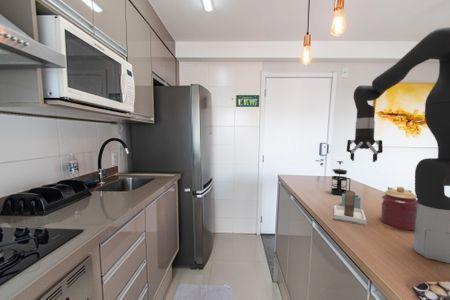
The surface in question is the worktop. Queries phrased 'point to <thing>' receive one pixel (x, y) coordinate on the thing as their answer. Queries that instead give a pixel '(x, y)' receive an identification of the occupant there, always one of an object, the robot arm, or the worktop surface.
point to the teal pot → (356, 202)
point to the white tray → (357, 217)
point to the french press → (339, 182)
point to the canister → (399, 209)
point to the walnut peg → (349, 203)
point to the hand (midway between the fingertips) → (363, 161)
